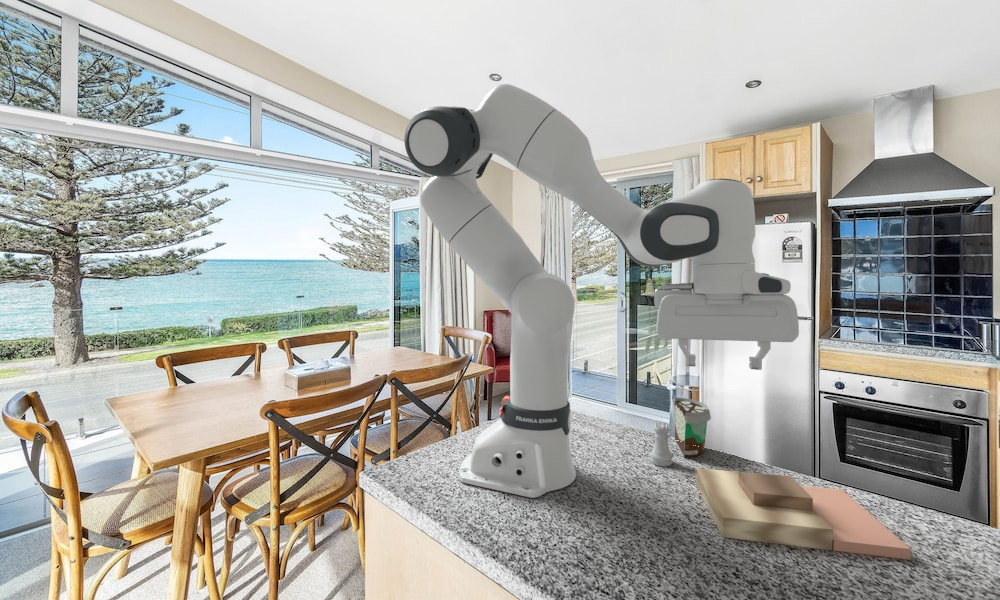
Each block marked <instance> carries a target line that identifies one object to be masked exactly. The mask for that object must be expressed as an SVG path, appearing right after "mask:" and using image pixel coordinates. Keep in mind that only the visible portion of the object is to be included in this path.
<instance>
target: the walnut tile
mask: <svg viewBox="0 0 1000 600" xmlns="http://www.w3.org/2000/svg"><path fill="white" fill-rule="evenodd" d="M737 472H738V484H739V485H740V487H741V488H742V489H743V491H744V492H745V494H746V495H747V497H748V498H749V500H750V501H751V502H752V504H753V505H756V506H766V507H775V508H785V509H795V510H804V511H812V509H813V498H812V497H811V496H810V495H809V494H808V493H807V492H806V491H805V490H804V489H803V488H802V487H801V486H802V485H800V484H799V482H798V481H796V479H794V478H793V476H792V475H791V476H789V475H782V474H781V475H780V474H768V473H767V474H766V473H757V472H756V473H755V472H745V471H737Z"/></svg>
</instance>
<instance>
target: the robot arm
mask: <svg viewBox="0 0 1000 600" xmlns="http://www.w3.org/2000/svg"><path fill="white" fill-rule="evenodd" d="M403 140H404V147H405V151H406V154H407V157H408V158H409V160H410V161H411V163H412V165H413V166H415V167H416V168H417V169H418V170H419V171H421V172H423V173H425V174H427V175H429V176H430V178H429V179H428V180H427V181H426V182H425V184H424V186H423V187H422V189H421V194H420V203H421V206H422V208H423V210H424V212H425V214H426V215H427V216H428V218H429V220H430V221H431V223H432V224H433V225H434V227H435V228H436V230H437V231H438V233H440V235H441V236H442V237H443V238H444V240H445V242H447V244H448V245H449V246H450V247H451V248H452V249H453V250H454V251H455V252H456V254H457V255H458V256H459V257H460V258H461V259H462V261H463V262H464V263H465V264H466V265H467V266H468V268H470V269H471V270H472V272H473V273H474V274H475V275H476V276H477V277H478V279H479V280H480V281H481V282H483V285H485V286H486V288H487V289H489V290H490V291H491V293H493V295H494V296H495V297H496V298H497V299H498V301H500V303H501V304H502V305H503V306H504V307H505V308H506V310H508V312H509V313H510V314H511V328H510V336H511V337H510V354H509V355H510V357H509V372H510V373H509V375H510V376H509V382H510V383H509V386H510V387H509V389H510V391H509V392H510V393H509V395H505V396H504V397H503V398H502V400H501V404H500V406H499V413H498V414H499V417H500V418H499V419H498V420H496V421H495V422H494V423H492V424H491V425H490V426H488V427H486V428H485V429H484V430H483V431H481V432H480V433H479V435H478V436H477V437H476V438H475V441H474V443H473V446H472V449H471V453H470V454H468V455H467V456H466V457H465V459H464V460H463V461H462V463H461V465H460V467H459V475H458V476H459V479H460V482H461V483H465V484H468V485H473V486H477V487H481V488H486V489H491V490H495V491H500V492H504V493H509V494H514V495H517V496H522V497H525V498H526V497H527V498H533V499H534V498H539V497H541V496H542V495H545V494H546V493H549V492H552V491H556V490H561V489H564V488H565V487H567V486H569V485H571V484H572V483H573V482H574V481H575V480H576V478H577V472H576V468H575V465H574V462H573V457H572V451H571V446H570V430H571V416H572V415H571V412H572V411H571V405H570V402H569V400H568V399H569V397H568V396H569V393H568V392H569V391H568V390H569V388H568V386H569V385H568V383H569V381H568V380H569V379H568V377H569V376H568V375H569V372H568V371H569V355H570V348H571V341H572V335H573V334H572V333H573V323H574V314H575V303H576V302H575V297H574V294H573V291H572V289H571V287H570V286H569V285H568V283H567V282H566V281H565V280H564V279H563V278H561V277H560V276H557V275H555V274H552V273H548V271H547V270H546V269H545V267H544V266H543V265H542V263H540V261H539V260H538V259H537V257H536V256H535V255H534V253H533V252H532V251H531V249H530V248H529V246H528V245H527V244H526V242H525V241H524V239H523V238H522V236H521V235H520V234H519V233H518V232H517V231H516V230H515V228H514V227H513V226H512V225H511V224H510V223H509V221H508V220H507V219H506V217H504V216H503V214H502V213H501V212H500V211H499V210H498V209H497V207H495V206H494V204H493V203H492V202H491V201H490V200H489V198H488V197H487V196H486V195H485V194H484V193H483V191H482V190H481V189H480V187H479V185H478V183H477V179H480V178H481V177H482V176H483V174H484V173H485V170H486V168H487V166H488V164H489V162H490V161H491V159H492V157H493V155H496V156H499V157H500V158H502V159H503V160H505V161H506V162H508V163H509V164H510V165H512V166H514V168H516V169H518V171H520V172H522V173H523V174H524V175H526V176H528V177H529V178H530V179H532V180H533V181H536V182H537V183H539V184H541V185H542V186H544V187H546V188H548V189H549V190H551V191H553V192H555V193H557V194H558V195H561V196H562V197H563V198H566V199H567V200H569V201H570V202H573V203H574V204H576V205H577V206H578V207H580V208H581V209H583V211H585V212H586V213H587V214H589V215H590V217H591V216H592V217H593V218H594V219H595V220H596V221H598V222H599V223H600V224H601V225H602V226H604V227H605V228H606V229H608V230H609V231H610V232H612V233H613V234H614V236H616V238H617V240H618V241H619V242H620V244H621V246H622V248H623V249H624V251H625V253H626V255H627V256H628V257H629V258H630V259H631V261H633V262H634V263H635V264H637V265H640V266H641V267H647V268H656V267H660V266H663V265H667V264H672V263H678V262H680V261H683V260H685V259H690V260H692V282H682V283H681V282H679V283H668V282H667V283H663V285H660V286H658V287H657V288H656V289H655V291H654V294H653V297H654V298H653V302H654V303H653V304H654V306H655V308H656V309H657V317H656V326H655V327H656V329H655V332H656V335H657V336H658V337H659V338H660V339H664V340H665V339H668V340H670V339H671V340H678V346H679V348H680V350H681V352H682V353H683V355H684V357H685V359H684V360H685V361H684V362H685V366H686V367H696V366H697V365H696V354H693V353H692V354H691V353H690V352H689V351H688V349H687V348H686V347H687V346H689V340H702V341H731V342H732V341H733V342H734V341H737V342H738V341H739V342H756V343H757V347H759V348H760V349H759V350H758V352H757V353H756V354H755V356H749V359H748V361H749V364H748V368H749V369H750V370H756V371H761V370H762V369H763V360H764V359H765V357H766V356H767V354H768V353H769V352H770V350H771V343H793V342H795V340H796V339H798V338H799V333H800V329H799V324H800V323H799V315H798V308H797V306H796V305H797V304H796V302H795V301H794V299H792V297H790V296H789V295H787V294H788V293H790V291H791V287H792V286H791V282H790V280H787V279H785V278H782V277H777V276H774V275H770V274H769V273H766V272H765V273H764V272H758V271H756V266H755V265H756V259H755V256H754V253H753V243H754V240H755V237H756V213H755V203H754V196H753V192H752V190H751V188H750V187H749V186H748V184H746V183H745V182H742V181H740V180H738V179H737V180H736V179H732V178H710V179H706V180H702V181H700V182H699V183H698V184H697V185H696V186H695V187H693V188H692V189H690V190H688V191H687V192H685V193H683V194H682V195H680V196H678V197H676V198H673V199H671V200H668V201H664V202H662V203H659V204H657V205H655V206H653V207H651V208H649V209H647V208H642V207H640V206H638V205H637V204H635V203H634V202H632V201H631V200H630V199H629V198H627V197H626V196H625V195H624V194H622V193H621V191H619V190H617V188H615V187H614V186H613V185H611V184H610V183H609V182H608V181H607V180H606V179H605V178H604V177H603V176H602V174H601V173H600V171H599V169H598V167H597V165H596V162H595V160H594V155H593V152H592V146H591V144H590V141H589V138H588V137H587V135H585V133H584V132H583V131H582V130H581V129H580V128H579V126H578V125H576V123H574V121H573V120H572V119H571V118H569V117H568V116H567V115H565V113H562V112H561V111H559V110H558V109H556V108H555V107H554V106H552V105H551V104H549V103H548V102H546V101H545V100H543V99H542V98H540V97H538V96H536V95H534V94H532V93H531V92H529V91H526V90H524V89H522V88H520V87H517V86H515V85H512V84H509V83H508V84H507V83H503V84H502V83H501V84H499V85H497V86H494V87H493V88H492V89H491V90H489V91H488V92H487V94H486V95H484V97H483V98H482V100H481V102H480V104H479V106H478V107H476V109H468V108H466V107H462V106H441V105H440V106H439V105H438V106H437V105H436V106H431V107H428V108H425V109H423V110H421V111H419V112H417V113H416V114H414V116H413V117H411V119H410V120H409V122H408V124H407V126H406V128H405V131H404V139H403Z"/></svg>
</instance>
